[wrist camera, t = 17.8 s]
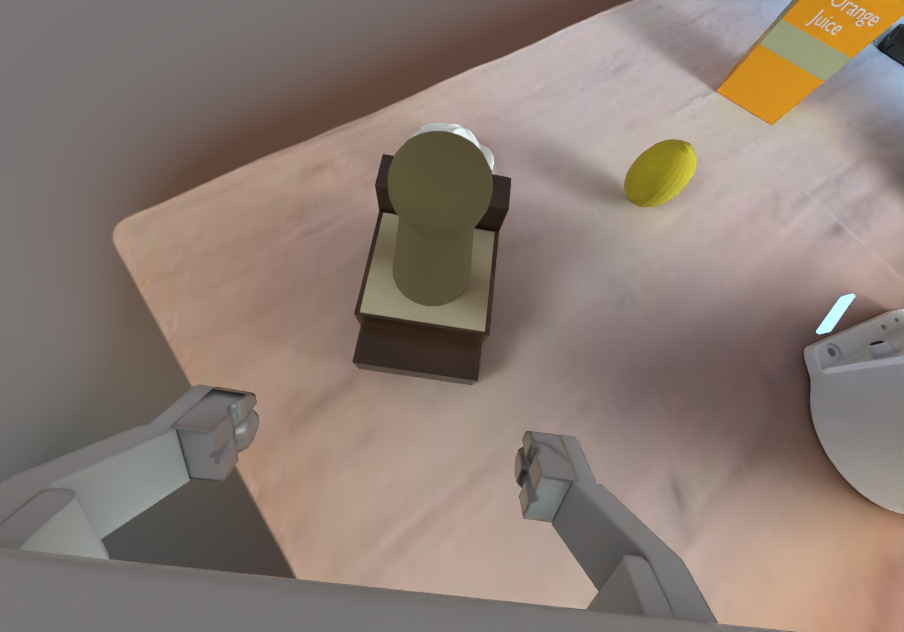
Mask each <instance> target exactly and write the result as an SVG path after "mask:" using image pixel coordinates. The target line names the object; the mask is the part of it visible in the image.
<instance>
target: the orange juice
mask: <svg viewBox="0 0 904 632" xmlns="http://www.w3.org/2000/svg"><path fill="white" fill-rule="evenodd" d="M903 15H904V0H792V1H791V3H790V4H789V5H788V6H787V7H786V8H785V9H784V10H783V11H782V13H781V14H780V15H779V16H778V17H777V19H776V20H775V21H774V22H773V23H772V24H771V25H770V27H769V28H768V29H767V30H766V31H765V32H764V33H763V34H762V36H761V37H760V38H759V39H758V40H757V41H756V42H755V43H754V44H753V46H752V47H751V48H750V49H749V50H748V51H747V52H746V53H745V55H744V56H743V57H742V58H741V59H740V60H739V61H738V62H737V64H736V65H735V66H734V67H733V69H732V70H731V72H730V73H729V74H728V76H727V77H726V79H725V80H724V82H723V83H722V84H721V86H720V87H719V89H718V90H717V92H718V93H720V94H721V95H723V96H725V97H726V98H728V99H730V100H731V101H733V102H735V103H736V104H738V105H740V106H741V107H743V108H745V109H746V110H748V111H750V112H751V113H753V114H754V115H756V116H758V117H759V118H761V119H763V120H764V121H766V122H768V123H769V124H771V125H773V124H774V123H775V122H776V121H778V120H779V119H780V118H781V117H782V116H784V115H785V114H786V113H787V112H788V111H790V110H791V109H792V108H793V107H794V106H796V105H797V104H798V103H799V102H800V101H802V100H803V99H804V98H805V97H806V96H808V95H809V94H810V93H811V92H812V91H814V90H815V89H816V88H817V87H818V86H820V85H821V84H822V83H823V82H825V81H826V80H827V79H829V78H830V77H831V76H832V75H833V74H835V73H836V72H837V71H838V70H839V69H841V68H842V67H843V66H844V65H845V64H847V63H848V62H849V61H850V60H851V59H852V58H853V57H854V56H855V55H857V54H858V53H859V52H860V51H861V50H863V49H864V48H865V47H866V46H867V45H869V44H870V43H871V42H872V41H873V40H875V39H876V38H877V37H878V36H879V35H881V34H882V33H883V32H884V31H885V30H887V29H888V28H889V27H890V26H891V25H893V24H894V23H895V22H896V21H897V20H899V19H900V18H901V17H902V16H903Z"/></svg>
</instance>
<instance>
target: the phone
mask: <svg viewBox="0 0 904 632" xmlns="http://www.w3.org/2000/svg"><path fill="white" fill-rule="evenodd" d="M879 48H880V49H881V50H882V51H884V52H885V53H887V54H888V55H890V56H892V57H893V58H895V59H896V60H898V61H899V62H901V63H902V64H904V24H899V25H898V26H897V27H896V28H894V29H893V30H892V31H891V32H890V33H889V34H888V35H887V36H886V37H885V38H884V39H883V40H882V41H881V43H880V44H879Z"/></svg>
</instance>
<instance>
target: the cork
mask: <svg viewBox="0 0 904 632" xmlns="http://www.w3.org/2000/svg"><path fill="white" fill-rule="evenodd" d="M388 192H389V198H390V200H391V203H392V205H393V208H394V210H395V212H396V214H397V216H398V217H399V221H398V229H397V236H396V243H395V251H394V258H393V278H394V281H395V283H396V286H397V288H398V289H399V290H400V291H401V292H402V294H403V295H404V296H405V297H407V298H408V299H410V300H411V301H413V302H415V303H417V304H421V305H425V306H441V305H444V304H447V303H450V302H452V301H454V300H455V299H456V298H458V297H459V296H461V295H462V293H463V292H464V290H465V289H466V287H467V286H468V283H469V279H470V275H471V262H472V248H473V235H474V227H475V226H476V225H477V223H478V222H479V221H480V220H481V218H482V217H483V216H484V214H485V213H486V211H487V209H488V206H489V204H490V200H491V196H492V192H493V180H492V173H491V168H490V166H489V164H488V162H487V160H486V158H485V156H484V155H483V153H482V151H481V150H480V149H479V148H478V147H477V146H476V145H475V144H474V143H473V142H471V141H470V140H468V139H466V138H465V137H463V136H461V135H458V134H454V133H451V132H447V131H430V132H425V133H421V134H418V135H416V136H414V137H412V138H411V139H409V140H407V141H406V143H405V144H404V145H403V146H402V147H401V148H400V149H399V150H398V151H397V152H396V154H395V155H394V158H393V160H392V162H391V165H390V168H389V172H388Z"/></svg>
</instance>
